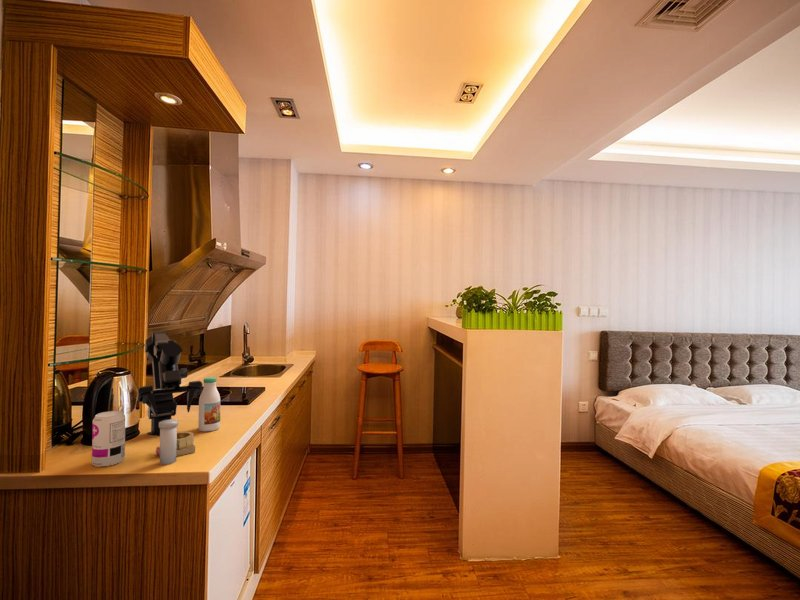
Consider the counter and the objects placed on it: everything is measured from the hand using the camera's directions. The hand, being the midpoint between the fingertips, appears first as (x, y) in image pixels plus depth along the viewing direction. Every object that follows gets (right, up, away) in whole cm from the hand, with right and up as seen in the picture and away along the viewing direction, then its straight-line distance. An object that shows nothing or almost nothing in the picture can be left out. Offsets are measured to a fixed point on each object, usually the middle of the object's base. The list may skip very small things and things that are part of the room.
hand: (172, 413), depth 130 cm
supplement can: (-16, -13, -7) cm, 22 cm away
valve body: (-2, -13, +3) cm, 14 cm away
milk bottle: (0, -13, +26) cm, 29 cm away
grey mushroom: (+2, -13, -6) cm, 15 cm away
